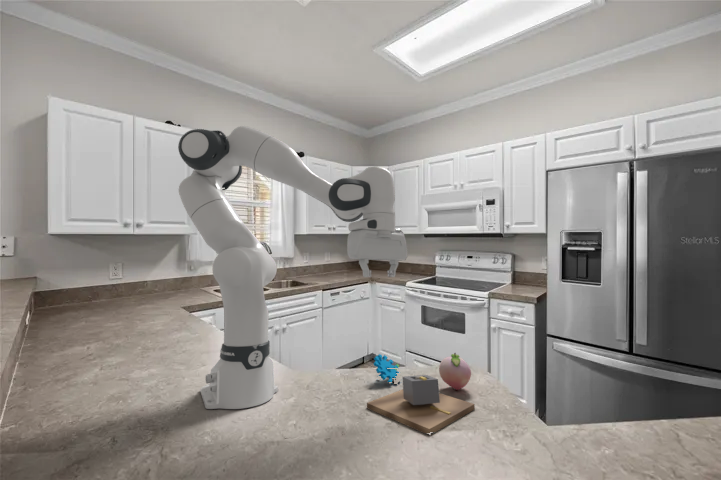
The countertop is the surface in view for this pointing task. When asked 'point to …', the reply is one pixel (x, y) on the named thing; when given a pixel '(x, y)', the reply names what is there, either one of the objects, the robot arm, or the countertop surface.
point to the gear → (385, 367)
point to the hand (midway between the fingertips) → (379, 277)
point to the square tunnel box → (421, 390)
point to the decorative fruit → (455, 371)
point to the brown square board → (421, 411)
